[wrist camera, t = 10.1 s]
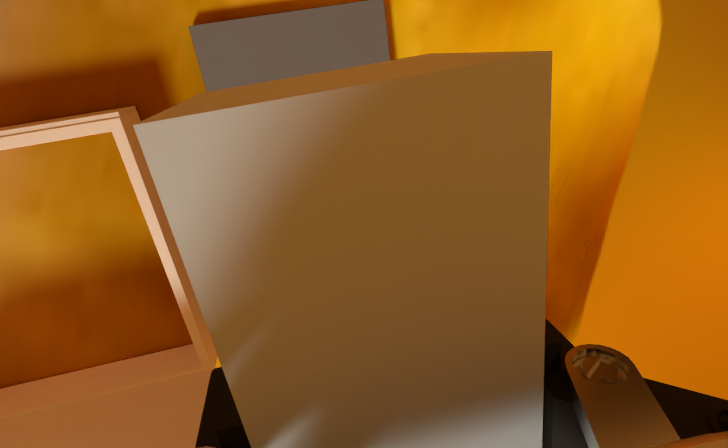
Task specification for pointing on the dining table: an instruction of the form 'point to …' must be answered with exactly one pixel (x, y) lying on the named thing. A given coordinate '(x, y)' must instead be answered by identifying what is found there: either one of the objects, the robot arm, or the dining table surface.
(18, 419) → the carton
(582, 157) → the dining table surface
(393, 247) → the box
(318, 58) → the slate mat
